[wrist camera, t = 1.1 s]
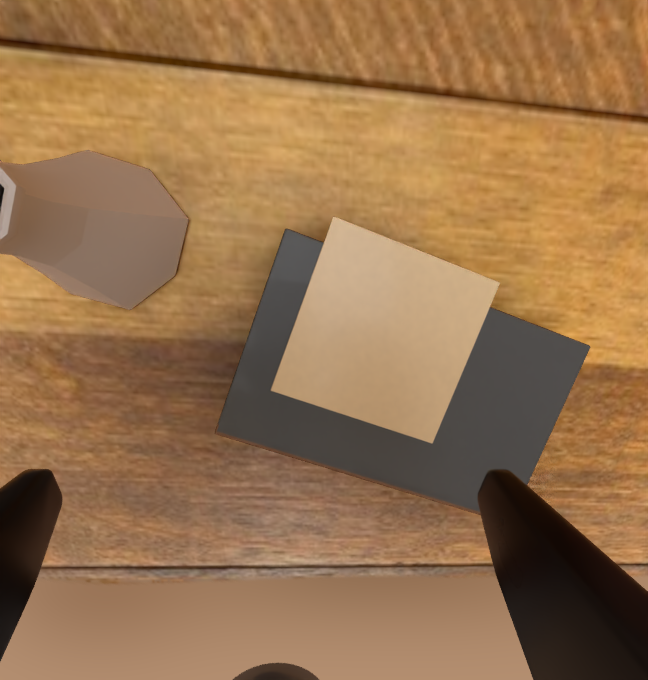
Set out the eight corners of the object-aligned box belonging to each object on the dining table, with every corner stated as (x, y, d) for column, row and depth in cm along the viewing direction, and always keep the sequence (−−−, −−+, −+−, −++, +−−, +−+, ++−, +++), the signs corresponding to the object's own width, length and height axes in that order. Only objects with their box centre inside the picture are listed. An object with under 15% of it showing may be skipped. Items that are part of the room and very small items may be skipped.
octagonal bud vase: (6, 251, 20) (-267, 231, 10) (83, 123, 19) (-128, -31, 9) (138, 333, 21) (9, 387, 11) (215, 215, 20) (149, 163, 11)
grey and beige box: (482, 494, 24) (511, 526, 21) (223, 412, 22) (213, 435, 19) (561, 316, 23) (604, 324, 20) (293, 211, 21) (294, 200, 18)
